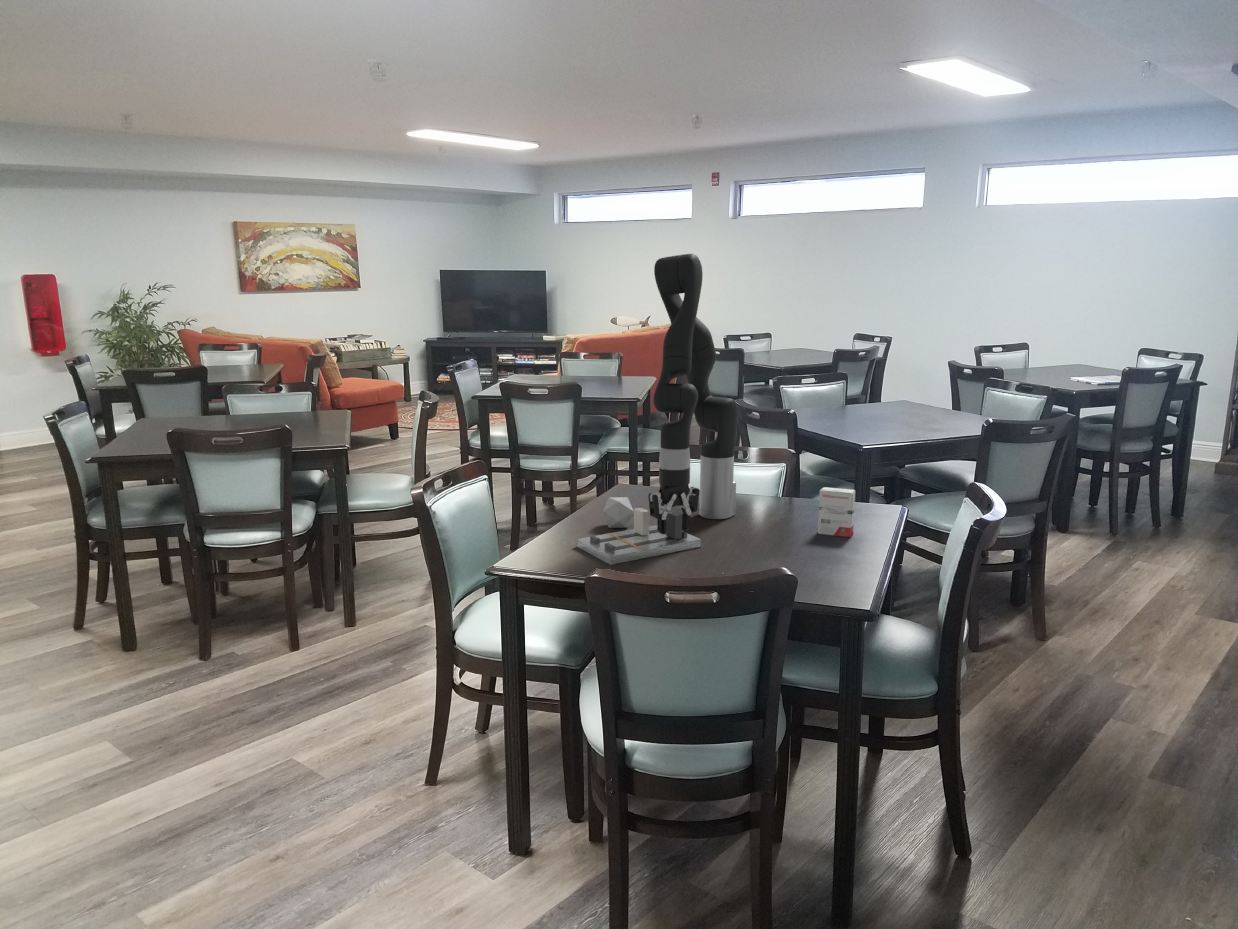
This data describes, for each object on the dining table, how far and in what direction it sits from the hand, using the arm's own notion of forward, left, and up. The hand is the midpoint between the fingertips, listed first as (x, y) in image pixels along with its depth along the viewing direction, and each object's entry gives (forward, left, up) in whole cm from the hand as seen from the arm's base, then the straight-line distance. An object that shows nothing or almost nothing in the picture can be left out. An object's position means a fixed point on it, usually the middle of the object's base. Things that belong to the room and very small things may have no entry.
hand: (673, 531), depth 208 cm
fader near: (0, 0, -2) cm, 2 cm away
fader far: (+5, -7, -1) cm, 9 cm away
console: (+8, -4, -4) cm, 9 cm away
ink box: (-42, +13, -4) cm, 44 cm away
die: (+3, -22, -4) cm, 22 cm away
